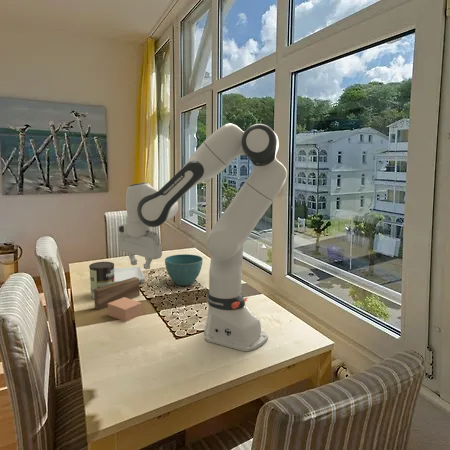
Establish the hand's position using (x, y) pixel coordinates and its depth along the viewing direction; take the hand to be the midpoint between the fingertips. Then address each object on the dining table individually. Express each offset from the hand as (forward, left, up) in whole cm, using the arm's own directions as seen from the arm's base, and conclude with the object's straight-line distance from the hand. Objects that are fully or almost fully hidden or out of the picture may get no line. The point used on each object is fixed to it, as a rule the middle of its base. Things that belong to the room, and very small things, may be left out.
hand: (140, 266), depth 129 cm
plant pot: (+19, -41, -21) cm, 50 cm away
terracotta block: (+10, 0, -22) cm, 24 cm away
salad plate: (+46, -24, -22) cm, 56 cm away
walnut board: (+23, -6, -21) cm, 32 cm away
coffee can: (+34, -6, -21) cm, 41 cm away
